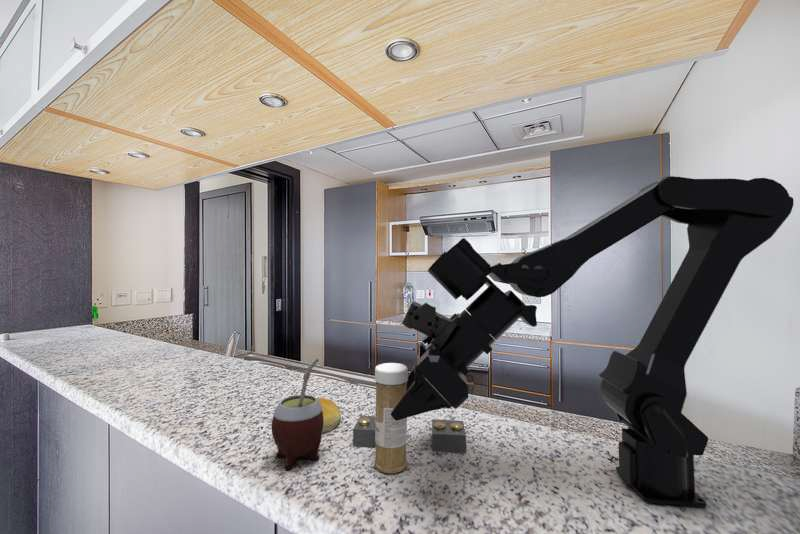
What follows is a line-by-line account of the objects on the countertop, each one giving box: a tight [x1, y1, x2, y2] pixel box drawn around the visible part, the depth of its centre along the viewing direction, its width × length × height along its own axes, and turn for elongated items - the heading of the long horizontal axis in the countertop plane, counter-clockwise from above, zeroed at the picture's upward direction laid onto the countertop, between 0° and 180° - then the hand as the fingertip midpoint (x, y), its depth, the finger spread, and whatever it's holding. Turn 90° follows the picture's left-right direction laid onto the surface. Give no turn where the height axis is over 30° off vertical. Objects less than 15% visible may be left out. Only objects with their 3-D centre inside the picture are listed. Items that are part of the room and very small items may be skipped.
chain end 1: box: [352, 415, 376, 448], centre depth 51 cm, size 5×5×3 cm
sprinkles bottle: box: [374, 362, 409, 474], centre depth 44 cm, size 5×5×14 cm
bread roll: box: [316, 397, 342, 434], centre depth 57 cm, size 8×9×4 cm
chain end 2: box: [431, 418, 467, 454], centre depth 50 cm, size 5×5×3 cm
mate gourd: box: [271, 358, 324, 472], centre depth 46 cm, size 8×8×15 cm
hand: (397, 403), depth 44 cm, fingers open, 9 cm apart
